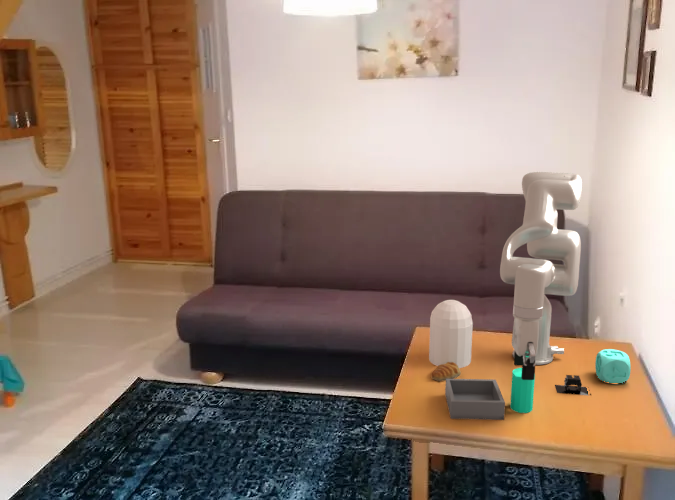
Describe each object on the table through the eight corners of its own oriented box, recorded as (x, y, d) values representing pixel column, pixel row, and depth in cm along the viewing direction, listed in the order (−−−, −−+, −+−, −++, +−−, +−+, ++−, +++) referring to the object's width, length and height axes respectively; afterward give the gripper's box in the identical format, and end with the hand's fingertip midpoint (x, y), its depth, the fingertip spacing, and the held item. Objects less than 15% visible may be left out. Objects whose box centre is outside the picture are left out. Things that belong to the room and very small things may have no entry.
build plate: (592, 388, 195) (593, 373, 194) (597, 399, 188) (598, 384, 187) (548, 385, 197) (549, 370, 196) (551, 396, 190) (552, 381, 189)
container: (426, 366, 209) (428, 306, 205) (430, 350, 222) (432, 293, 217) (469, 370, 206) (472, 309, 201) (471, 353, 219) (474, 295, 214)
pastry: (442, 385, 197) (442, 373, 196) (425, 377, 202) (425, 366, 201) (462, 376, 203) (463, 364, 202) (445, 369, 208) (445, 358, 207)
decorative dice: (629, 385, 196) (632, 359, 194) (601, 383, 197) (603, 358, 195) (621, 373, 203) (623, 349, 202) (594, 372, 204) (596, 348, 202)
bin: (494, 395, 189) (495, 379, 188) (504, 419, 176) (505, 402, 175) (445, 394, 190) (445, 378, 189) (450, 418, 177) (451, 401, 175)
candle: (507, 403, 185) (509, 363, 182) (528, 402, 185) (530, 362, 183) (514, 413, 179) (517, 372, 176) (536, 412, 180) (539, 371, 177)
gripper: (507, 301, 184) (503, 359, 188) (520, 321, 167) (516, 385, 171) (534, 302, 184) (530, 360, 187) (550, 322, 167) (545, 385, 170)
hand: (523, 372), depth 179 cm, fingers open, 9 cm apart
